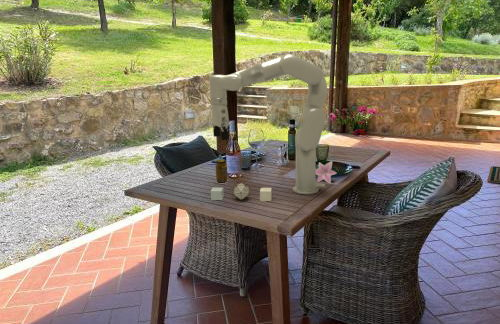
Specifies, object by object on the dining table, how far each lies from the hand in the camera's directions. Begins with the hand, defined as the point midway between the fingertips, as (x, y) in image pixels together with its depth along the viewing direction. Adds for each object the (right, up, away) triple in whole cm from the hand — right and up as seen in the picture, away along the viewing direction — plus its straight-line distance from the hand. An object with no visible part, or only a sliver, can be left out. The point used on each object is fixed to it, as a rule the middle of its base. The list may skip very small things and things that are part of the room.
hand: (220, 138), depth 187 cm
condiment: (-1, -23, +23) cm, 33 cm away
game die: (+10, -29, -2) cm, 31 cm away
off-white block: (+21, -29, -4) cm, 36 cm away
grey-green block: (-1, -29, -1) cm, 29 cm away
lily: (+53, -22, +21) cm, 61 cm away
